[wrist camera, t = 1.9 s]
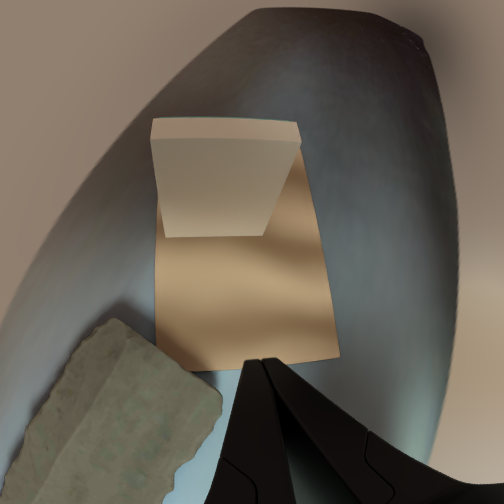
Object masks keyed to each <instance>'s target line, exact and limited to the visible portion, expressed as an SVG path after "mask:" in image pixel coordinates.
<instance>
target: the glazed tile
mask: <svg viewBox="0 0 504 504" xmlns="http://www.w3.org/2000/svg"><path fill="white" fill-rule="evenodd" d="M150 142H151V150H152V157H153V164H154V171H155V178H156V184H157V191H158V197H159V203H160V209H161V215H162V221H163V226H164V232H165V237H166V238H170V237H215V236H263V233H264V231H265V229H266V226H267V224H268V221H269V219H270V217H271V214H272V212H273V210H274V207H275V205H276V202H277V200H278V198H279V195H280V193H281V190H282V188H283V186H284V183H285V181H286V179H287V176H288V174H289V171H290V169H291V167H292V164H293V162H294V159H295V157H296V155H297V152H298V150H299V147H300V145H301V143H302V141H301V137H300V134H299V130H298V126H297V122H291V121H289V120H277V119H262V118H243V117H158V118H155V119H153V123H152V130H151V137H150Z"/></svg>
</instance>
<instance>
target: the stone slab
mask: <svg viewBox="0 0 504 504" xmlns="http://www.w3.org/2000/svg"><path fill="white" fill-rule="evenodd" d="M222 404H223V397H222V395H221V393H220V392H219V391H218V390H217V389H216V388H214V387H213V386H211V385H210V384H208V383H207V382H205V381H204V380H202V379H201V378H199V377H197V376H196V375H194V374H193V373H191V372H189V371H188V370H186V369H184V368H183V367H182V366H181V365H180V364H179V363H178V362H177V361H175V360H174V359H172V358H171V357H170V356H168V355H167V354H165V353H164V352H163V351H161V350H160V349H159V348H157V347H156V346H154V345H153V344H152V343H150V342H149V341H147V340H146V339H144V338H143V337H142V336H141V335H140V334H139V333H137V332H136V331H134V330H133V329H132V328H130V327H129V326H128V325H127V324H126V323H124V322H122V321H120V320H118V319H116V318H115V317H113V318H111V319H109V320H107V321H106V322H105V323H104V324H102V325H100V326H97V327H95V328H94V330H93V332H92V334H91V335H90V336H88V337H86V338H85V339H83V340H82V341H81V343H80V345H79V347H78V348H77V349H76V350H75V351H74V352H73V353H72V355H71V358H70V360H69V361H68V362H67V364H66V366H65V369H64V372H63V374H62V375H61V376H60V378H59V379H58V380H57V382H56V383H55V385H54V386H53V388H52V389H51V391H50V396H49V398H48V399H47V400H46V401H45V402H44V403H43V405H42V407H41V409H40V410H39V412H38V413H37V415H36V416H35V417H34V418H33V419H32V420H31V421H30V423H29V425H28V426H27V427H26V429H25V437H24V444H23V446H22V448H21V450H20V453H19V455H18V457H17V458H16V459H15V460H14V461H13V462H12V465H11V466H10V468H9V470H8V472H7V473H6V475H5V483H4V488H3V490H2V494H1V496H0V504H162V502H163V499H164V497H165V496H166V494H167V493H169V492H171V491H173V489H174V473H175V472H176V470H177V469H178V468H179V467H180V466H181V465H183V464H184V463H186V462H188V461H190V460H191V459H192V458H194V456H195V454H196V452H197V450H198V449H199V448H200V447H201V445H202V443H203V441H204V440H205V439H206V438H207V437H208V435H209V434H210V433H211V432H212V430H213V428H214V425H215V423H216V421H217V419H218V418H219V417H220V416H221V415H222Z"/></svg>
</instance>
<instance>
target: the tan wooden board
mask: <svg viewBox="0 0 504 504" xmlns="http://www.w3.org/2000/svg"><path fill="white" fill-rule="evenodd" d="M155 330H156V347H157V348H159V349H160V350H161V351H163V352H164V353H165V354H167V355H168V356H170V357H171V358H172V359H174V360H175V361H177V362H178V363H179V364H180V365H181V366H182V367H183V368H184V369H186V370H188V371H189V372H197V371H218V370H234V369H242V367H243V363H244V361H245V360H247V359H260V360H261V359H262V358H270V357H276V358H278V359H280V360H281V361H282V362H283V363H284V364H286V365H287V364H296V363H304V362H311V361H319V360H325V359H332V358H338V357H340V352H339V345H338V338H337V331H336V325H335V318H334V312H333V306H332V300H331V294H330V288H329V282H328V276H327V271H326V265H325V260H324V255H323V249H322V244H321V239H320V234H319V229H318V224H317V220H316V215H315V210H314V206H313V201H312V196H311V192H310V187H309V183H308V179H307V174H306V170H305V166H304V162H303V158H302V154H301V150H300V148H299V150H298V152H297V155H296V157H295V159H294V162H293V164H292V167H291V169H290V171H289V174H288V176H287V179H286V181H285V183H284V186H283V188H282V190H281V193H280V195H279V198H278V200H277V202H276V205H275V207H274V210H273V212H272V214H271V217H270V219H269V221H268V224H267V226H266V229H265V231H264V233H263V236H215V237H170V238H166V237H165V232H164V226H163V221H162V215H161V209H160V203H159V197H158V206H157V225H156V252H155Z"/></svg>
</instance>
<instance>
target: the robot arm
mask: <svg viewBox="0 0 504 504" xmlns="http://www.w3.org/2000/svg"><path fill="white" fill-rule="evenodd" d="M204 504H504V483H497V484H470V483H465V482H461V481H458V480H456V479H453V478H451V477H449V476H447V475H445V474H443V473H441V472H439V471H437V470H435V469H432V468H431V467H429V466H427V465H425V464H423V463H421V462H419V461H417V460H415V459H414V458H412V457H410V456H408V455H407V454H405V453H403V452H401V451H400V450H398V449H396V448H395V447H393V446H392V445H390V444H389V443H387V442H386V441H384V440H383V439H381V438H380V437H379V436H377V435H376V434H374V433H373V432H372V431H368V429H367V428H366V427H365V426H363V425H362V424H361V423H359V422H358V421H357V420H355V419H354V418H353V417H351V416H350V415H349V414H347V413H346V412H345V411H343V410H342V409H341V408H340V407H338V406H337V405H336V404H334V403H333V402H332V401H330V400H329V399H328V398H327V397H325V396H324V395H323V394H322V393H320V392H319V391H318V390H316V389H315V388H314V387H313V386H311V385H310V384H309V383H308V382H306V381H305V380H304V379H303V378H301V377H300V376H299V375H298V374H297V373H295V372H294V371H293V370H292V369H290V368H289V367H288V366H287V365H286V364H284V363H283V362H282V361H281V360H280V359H278V358H276V357H270V358H262V359H261V360H260V359H247V360H245V361H244V363H243V367H242V371H241V375H240V379H239V383H238V387H237V391H236V395H235V399H234V403H233V407H232V411H231V415H230V419H229V423H228V426H227V430H226V434H225V438H224V442H223V446H222V450H221V454H220V458H219V460H218V464H217V468H216V472H215V475H214V478H213V481H212V484H211V488H210V490H209V493H208V495H207V498H206V500H205V502H204Z"/></svg>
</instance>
